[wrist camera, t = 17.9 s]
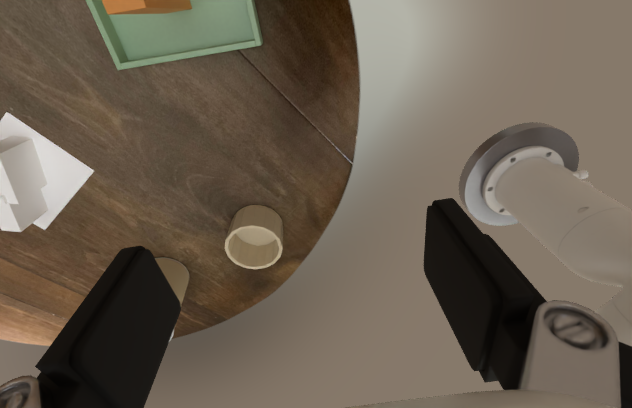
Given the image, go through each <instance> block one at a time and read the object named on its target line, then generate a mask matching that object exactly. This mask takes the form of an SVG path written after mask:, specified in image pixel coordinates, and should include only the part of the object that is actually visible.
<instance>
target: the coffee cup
mask: <svg viewBox="0 0 632 408" xmlns="http://www.w3.org/2000/svg"><path fill="white" fill-rule="evenodd" d="M155 260H156V262H157V263H158V265H159V267H160V268H161V270H162V272H163V274H164V275H165V277H166V279H167V280H168V282H169V284H170V286H171V287H172V289H173V291H174V293H175V294H176V296H177V298H178V299H179V301H180V304H181V305H182V302H183V298H184V295H185V292H186V288H187V285H188V281H189V272H188V270H187V268H186V267H185V266H184V265H183V264H182V263H180V262H179V261H177V260H174V259H171V258H166V257H159V258H155ZM175 325H176V324H175ZM174 328H175V327H174ZM173 334H174V330H173V332H172V335H171V337H170V340H171V339H172V337H173ZM170 340H169V342H170Z"/></svg>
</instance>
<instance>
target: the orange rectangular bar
mask: <svg viewBox="0 0 632 408" xmlns="http://www.w3.org/2000/svg"><path fill="white" fill-rule="evenodd" d="M102 2H103V5H104V7H105V9H106V12H107V14H108V15H113V14H166V13H172V12H177V11H183V10H189V9H192V6H191V3H190V0H102Z"/></svg>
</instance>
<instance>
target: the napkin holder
mask: <svg viewBox="0 0 632 408" xmlns="http://www.w3.org/2000/svg"><path fill="white" fill-rule="evenodd" d="M93 172H94V170H92V169H91V168H89V167H88V166H86V165H85V164H83V163H82V162H80V161H79V160H77V159H76V158H74V157H73V156H72V155H70V154H69V153H67V152H66V151H64V150H63V149H61V148H60V147H58V146H57V145H55V144H54V143H52V142H51V141H49V140H48V139H46V138H45V137H43V136H42V135H40V134H39V133H37V132H36V131H35V130H33V129H32V128H30V127H29V126H27V125H26V124H24V123H23V122H21V121H20V120H18V119H17V118H15V117H14V116H12V115H11V114H9V113H8V112H6V113H5V115H4V117H3V118H2V120H1V121H0V228H1V230H3V231H15V232H22V231H23V230H24V229H25V228H27V227H28V226H29V225H30V224H32V223H33V224H35V225H37V226H38V227H40V228H42V229H44V230H45V229H46V228H47V227H48V226H49V225H50V223H51V222H52V221H53V220H54V219H55V217H56V216H57V215H58V214H59V213H60V212H61V210H62V209H63V208H64V207H65V206H66V204H67V203H68V202H69V201H70V200H71V198H72V197H73V196H74V195H75V194H76V192H77V191H78V190H79V189H80V188H81V186H82V185H83V184H84V183H85V182H86V180H87V179H88V178H89V177H90V176H91V174H92V173H93Z"/></svg>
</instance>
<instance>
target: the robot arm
mask: <svg viewBox="0 0 632 408" xmlns="http://www.w3.org/2000/svg"><path fill="white" fill-rule="evenodd" d="M588 175H589V174H588V171H586V170H580V171H575V172H572V171H571V170H569V169H567V168H565V167H564V163H563V160H562V158H561V157H560V155H559V154H558V153H556V152H555V151H554V150H552V149H550V148H548V147H544V146H534V145H533V146H527V147H523V148H520V149H517V150H515V151H513V152H511V153H509V154H508V155H506V156H505V157H503V158H502V159H501V160H500V161H498V162H497V163H496V164H495V165H494V166H493V168H492V169H491V170H490V172H489V173H488V175H487V176H486V179H485V181H484V184H483V188H482V195H483V199H484V201H485V203H486V205H487V206H488V207H489V208H490V209H492V210H493V211H494V212H496V213H498V214H502V215H512V216H513V217H514V218H515V219H516V220H517V221H518V222H519V223H520V224H522V225H523V226H524V227H525V228H526V229H527V230H528V231H529V232H530V233H531V234H532V235H533V236H534V237H535V238H536V239H537V240H539V241H540V242H541V243H542V244H543V245H544V246H545V247H546V248H547V249H548V250H549V251H550V252H551V253H552V254H553V255H554V256H556V257H557V258H558V259H559V260H560V261H561V262H562V263H563V264H564V265H565V266H566V267H567V268H569V269H570V270H571V271H572V272H574V273H575V274H576V275H578V276H580V277H582V278H584V279H586V280H589V281H593V282H596V283H600V284H606V285H612V286H619V287H623V288H622V290H621V291H620V292H619V293H617V294H616V295H615V296H614V297H612V299H611V300H609V301H608V302H607V303H606V304H604V305H603V306H601V307H600V308H599V309H597V310H596V311H592V310H590V309H589V308H586V307H584V306H582V305H579V304H576V303H572V302H568V301H558V300H553V301H549V302H547V301H546V300H545V299H544V298H543V297H542V296H541V294H540V293H539V292H538V291H537V290H536V289H535V288H534V286H533V285H532V284H531V283H530V282H529V281H528V279H527V278H526V277H525V276H524V275H523V274H522V272H521V271H520V270H519V269H518V268H517V267H516V265H515V264H514V263H513V262H512V261H511V260H510V259H509V257H508V256H507V255H506V254H505V253H504V252H503V250H501V248H500V247H499V246H498V245H497V244H496V242H495V241H494V240H493V239H492V238H491V237H490V236H489V235H486V234H483V233H482V232H481V231H480V230H479V229H478V227H477V226H476V225H475V224H474V223H473V221H472V220H471V219H470V218H469V217H468V216H467V214H466V213H465V212H464V211H463V210H462V208H461V207H460V206H459V205H458V204H457V202H456V201H455V200H454V199H452V198H448V199H442V200H435V201H433V203H432V206H428V208H427V219H426V234H425V235H426V236H425V251H424V271H425V275H426V277H427V279H428V281H429V283H430V285H431V287H432V289H433V291H434V293H435V295H436V297H437V299H438V301H439V304H440V306H441V308H442V310H443V312H444V314H445V316H446V318H447V320H448V322H449V324H450V326H451V328H452V330H453V332H454V334H455V336H456V338H457V340H458V342H459V344H460V346H461V348H462V350H463V352H464V354H465V356H466V358H467V360H468V362H469V364H470V366H471V368H472V369H473V370H474V371H479V372H480V374H481V376H482V378H483V380H484V382H491V381H499V382H500V384H501V386H502V388H503V389H504V390H501V391H485V392H484V391H483V392H472V393H463V394H454V395H444V396H437V397H436V396H435V397H427V398H417V399H409V400H401V401H394V402H386V403H378V404H371V405H364V406H355V407H348V408H632V210H631V209H630V208H628V207H627V206H625V205H623V204H621V203H620V202H618V201H616V200H615V199H613V198H611V197H609V196H608V195H606V194H604V193H603V192H601V191H599V190H597V189H596V188H594V187H593V186H592V184H591V183H590V182H589V181H582V180H581V179H585V178H587V177H588ZM180 311H181V304H180V301H179V299H178V298H177V296H176V294H175V293H174V291H173V289H172V287H171V286H170V284H169V282H168V280H167V279H166V277H165V275H164V274H163V272H162V270H161V268H160V267H159V265H158V263H157V262H156V260H155V258H154V256H153V255H152V253H151V252H150V250H148V249H145V248H144V247H142V246H136V247H130V248H124V249H122V250H121V251H120V252H119V253H118V254H117V256H116V257H115V258H114V260H113V261H112V262H111V264H110V265H109V267H108V268H107V269H106V271H105V272H104V273H103V275H102V276H101V277H100V279H99V280H98V282H97V283H96V284H95V286H94V287H93V288H92V290H91V291H90V293H89V294H88V295H87V297H86V298H85V299H84V301H83V302H82V303H81V305H80V306H79V308H78V309H77V310H76V312H75V313H74V314H73V316H72V317H71V318H70V320H69V321H68V323H67V324H66V325H65V327H64V328H63V329H62V331H61V332H60V333H59V335H58V336H57V338H56V339H55V340H54V342H53V343H52V344H51V346H50V347H49V349H48V350H47V351H46V353H45V354H44V355H43V357H42V358H41V359H40V361H39V362H38V364H37V365H36V366H35V367H36V368H38V369H39V370H40V371H41V373H40V374H39V376H38V377H37V378H35V377H32V376H21V377H18V378H15V379H12V380H10V381H8V382H7V383H5V384H3V385H1V386H0V408H144V405H145V403H146V400H147V397H148V395H149V392H150V390H151V387H152V384H153V382H154V379H155V377H156V374H157V371H158V369H159V366H160V363H161V361H162V358H163V356H164V353H165V350H166V348H167V345H168V343H169V340H170V337H171V335H172V332H173V330H174V327H175V324H176V322H177V319H178V317H179V314H180Z"/></svg>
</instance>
